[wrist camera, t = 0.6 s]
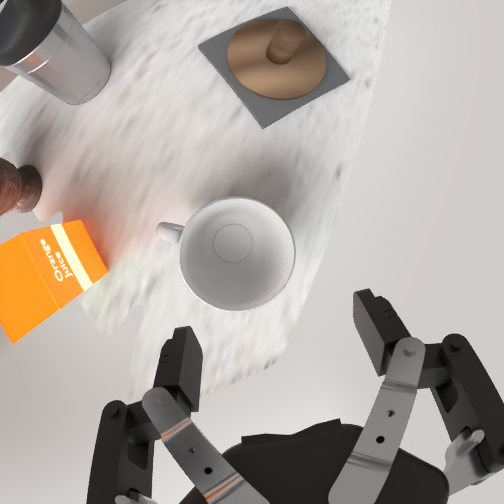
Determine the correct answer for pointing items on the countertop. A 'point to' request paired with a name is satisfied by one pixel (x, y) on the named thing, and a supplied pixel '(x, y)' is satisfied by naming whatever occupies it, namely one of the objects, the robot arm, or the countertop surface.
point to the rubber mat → (260, 106)
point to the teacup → (233, 253)
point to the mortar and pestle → (18, 187)
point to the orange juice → (44, 274)
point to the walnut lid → (276, 59)
